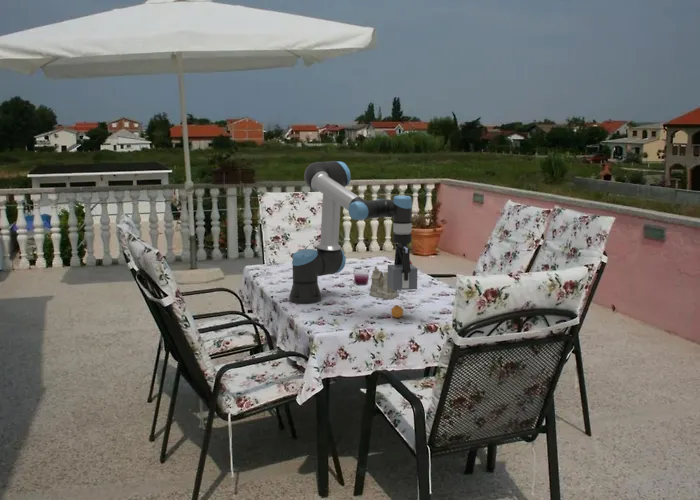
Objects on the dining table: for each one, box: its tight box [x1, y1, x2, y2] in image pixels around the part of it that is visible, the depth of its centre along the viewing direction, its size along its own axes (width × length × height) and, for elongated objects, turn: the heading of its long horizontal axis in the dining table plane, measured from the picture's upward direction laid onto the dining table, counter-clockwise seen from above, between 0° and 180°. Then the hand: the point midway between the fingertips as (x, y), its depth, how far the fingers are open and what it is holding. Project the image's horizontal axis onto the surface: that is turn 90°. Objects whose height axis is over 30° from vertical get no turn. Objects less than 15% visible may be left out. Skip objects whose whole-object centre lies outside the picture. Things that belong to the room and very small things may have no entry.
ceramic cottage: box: [369, 265, 400, 300], centre depth 324 cm, size 16×16×15 cm
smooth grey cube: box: [387, 263, 418, 291], centre depth 280 cm, size 10×10×9 cm
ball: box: [391, 305, 404, 319], centre depth 282 cm, size 5×5×5 cm
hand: (402, 285), depth 281 cm, fingers closed on smooth grey cube, 10 cm apart
